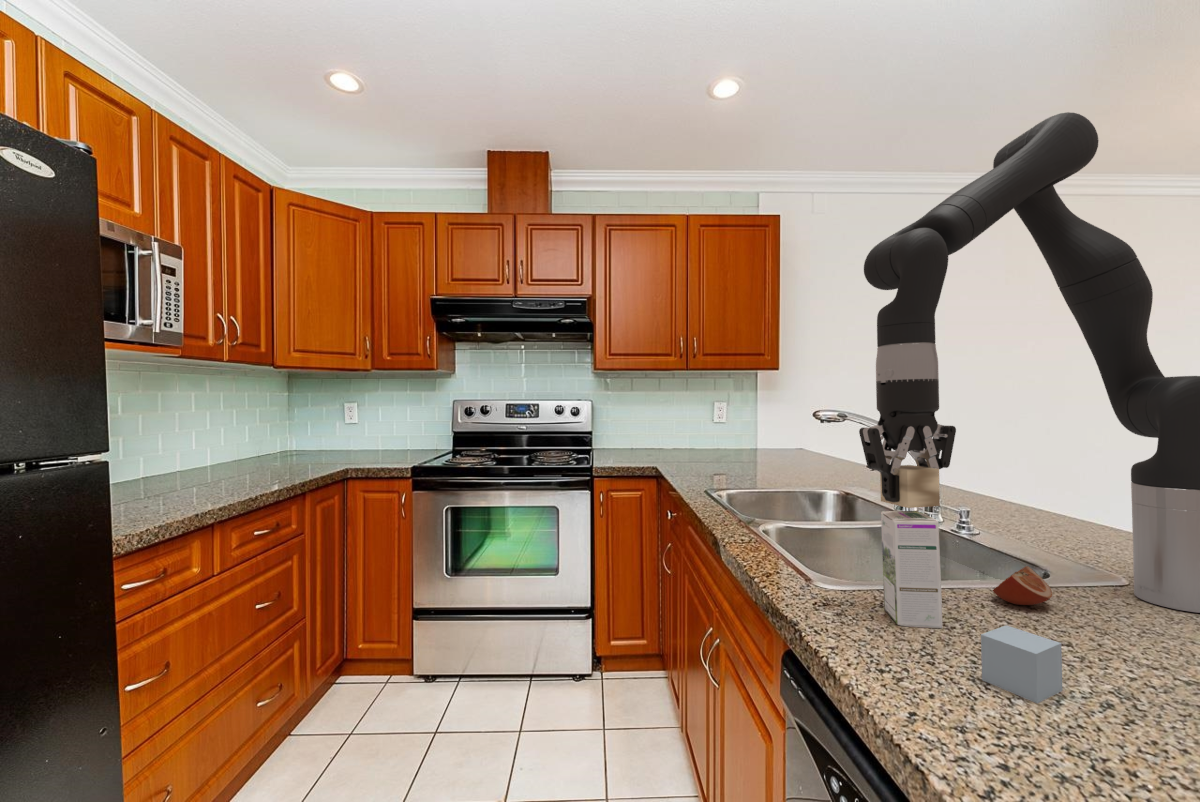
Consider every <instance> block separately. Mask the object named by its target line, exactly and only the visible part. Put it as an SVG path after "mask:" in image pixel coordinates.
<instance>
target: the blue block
mask: <svg viewBox="0 0 1200 802" xmlns="http://www.w3.org/2000/svg"><path fill="white" fill-rule="evenodd" d="M1062 649H1063V648H1062V642H1060V641H1055V640H1053V639H1050V638H1046V637H1044V636H1040V635H1037V634H1035V633H1032V632H1028V631H1025V630H1022V629H1020V628H1016V627H1013V626H1009V625H1003V626H1001V627H997V628H995V629H992V630H990V631H987V632H984V633H981V634H980V653H981V655H980V656H981V681H983V682H985V683H987V684H990V685H992V686H995V687H996V688H1000V689H1001V690H1003V691H1007V692H1009V693H1012V694H1013V695H1015V696H1019V697H1021V698H1023V699H1025V700H1028V701H1030V702H1033V703H1035V704H1040V703H1042V702H1043V701H1045V700H1047V699H1049V698H1051V697H1053V696H1055V695H1057V694H1059V693H1060V692H1063V656H1062V653H1063V652H1062Z"/></svg>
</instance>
